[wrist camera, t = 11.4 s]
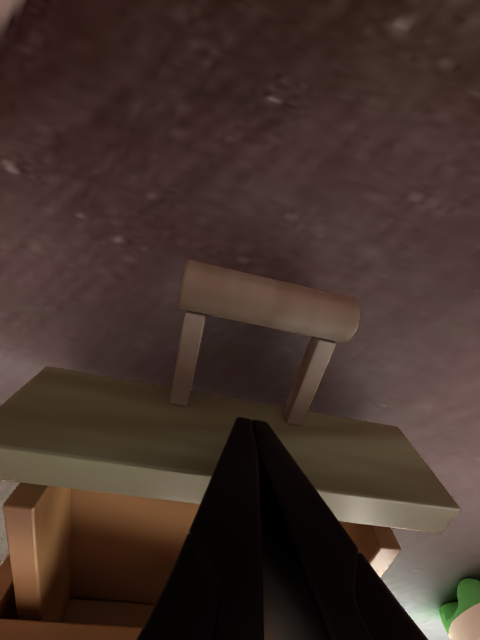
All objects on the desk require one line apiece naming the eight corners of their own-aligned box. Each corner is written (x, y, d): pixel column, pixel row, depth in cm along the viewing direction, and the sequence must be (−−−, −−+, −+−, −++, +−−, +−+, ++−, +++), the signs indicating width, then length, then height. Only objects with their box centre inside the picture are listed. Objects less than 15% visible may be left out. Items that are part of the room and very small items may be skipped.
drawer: (43, 220, 7) (-86, 229, 4) (460, 318, 9) (576, 374, 6) (54, 573, 14) (5, 676, 11) (296, 594, 15) (312, 688, 12)
